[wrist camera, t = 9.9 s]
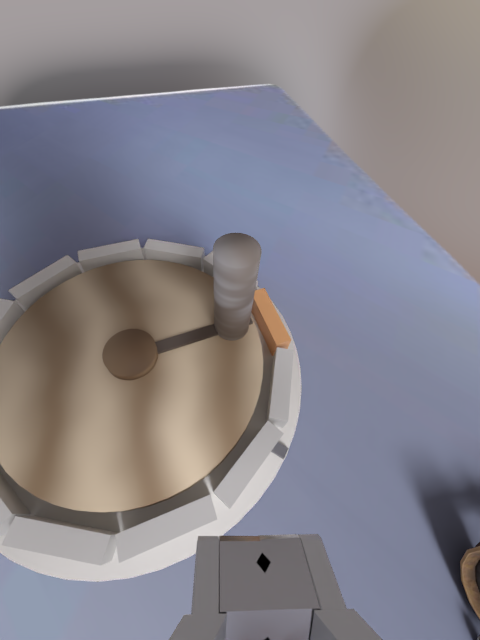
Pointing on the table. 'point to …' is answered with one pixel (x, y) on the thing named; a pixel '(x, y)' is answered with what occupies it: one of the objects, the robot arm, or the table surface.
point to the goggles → (472, 577)
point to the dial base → (185, 508)
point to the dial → (131, 380)
